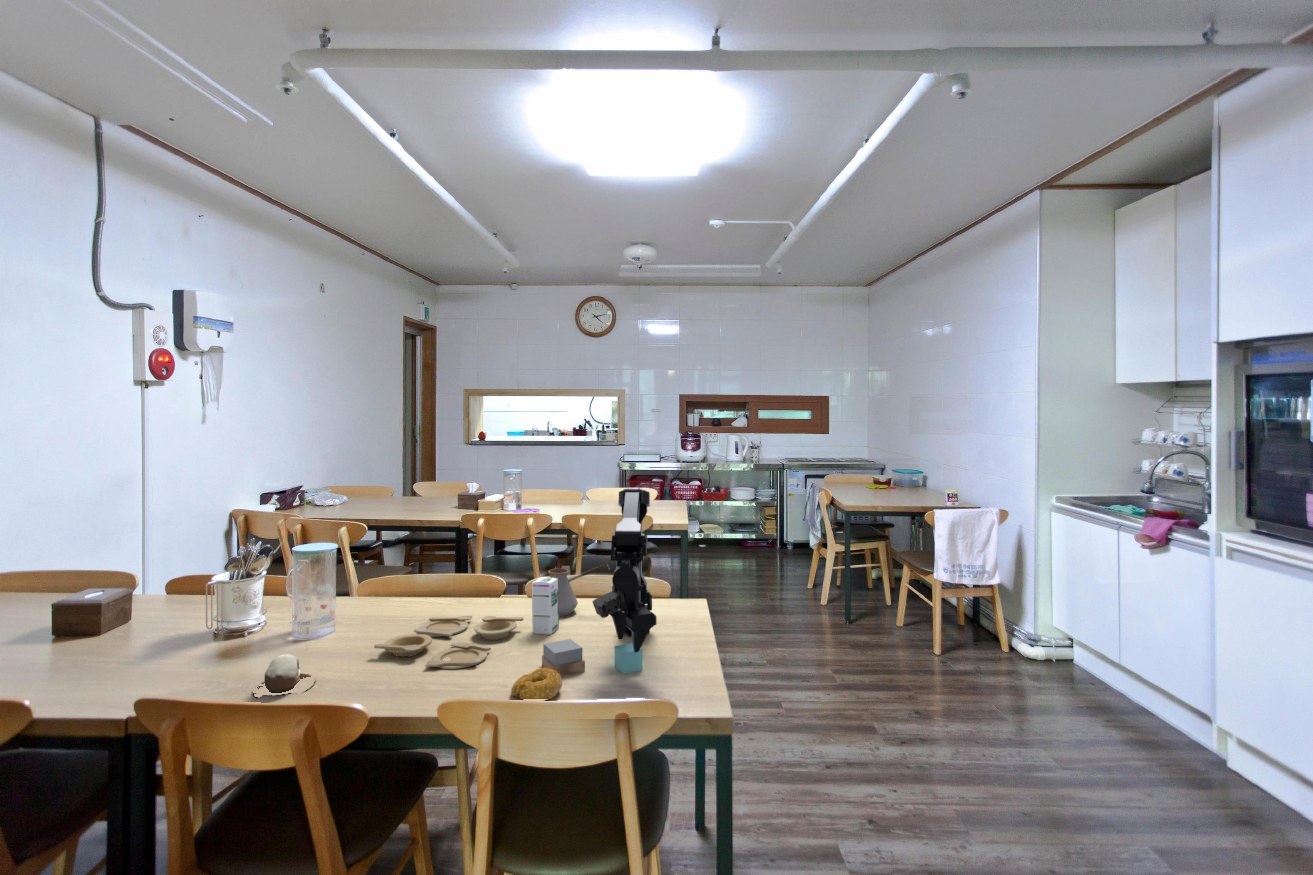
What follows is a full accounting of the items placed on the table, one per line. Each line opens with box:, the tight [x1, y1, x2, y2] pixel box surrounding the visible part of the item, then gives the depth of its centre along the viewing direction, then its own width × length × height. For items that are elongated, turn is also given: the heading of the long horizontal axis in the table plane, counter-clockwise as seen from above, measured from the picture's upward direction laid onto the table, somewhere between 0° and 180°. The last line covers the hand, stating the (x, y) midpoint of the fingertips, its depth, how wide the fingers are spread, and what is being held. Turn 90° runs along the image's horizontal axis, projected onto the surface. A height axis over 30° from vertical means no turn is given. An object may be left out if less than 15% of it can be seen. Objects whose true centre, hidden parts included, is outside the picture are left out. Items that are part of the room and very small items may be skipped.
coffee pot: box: [547, 563, 611, 617], centre depth 193 cm, size 21×12×15 cm, turn 93°
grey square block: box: [542, 638, 583, 666], centre depth 150 cm, size 7×7×3 cm
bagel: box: [510, 667, 563, 700], centre depth 137 cm, size 10×11×5 cm
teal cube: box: [614, 642, 643, 675], centre depth 151 cm, size 5×5×5 cm
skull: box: [256, 653, 312, 693], centre depth 140 cm, size 12×10×10 cm
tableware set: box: [373, 615, 524, 670], centre depth 167 cm, size 35×29×4 cm
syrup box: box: [531, 576, 560, 636], centre depth 176 cm, size 6×6×14 cm
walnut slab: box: [541, 654, 586, 677], centre depth 151 cm, size 8×8×3 cm
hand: (628, 645), depth 151 cm, fingers open, 9 cm apart
